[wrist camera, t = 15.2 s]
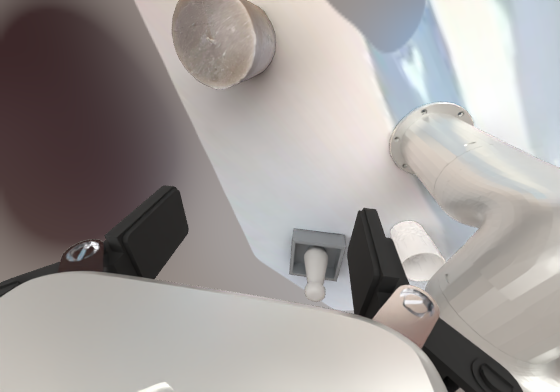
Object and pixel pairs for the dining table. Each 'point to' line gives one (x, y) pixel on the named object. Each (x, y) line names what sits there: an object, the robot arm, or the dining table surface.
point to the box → (328, 241)
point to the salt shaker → (315, 272)
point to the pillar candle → (222, 40)
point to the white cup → (416, 251)
